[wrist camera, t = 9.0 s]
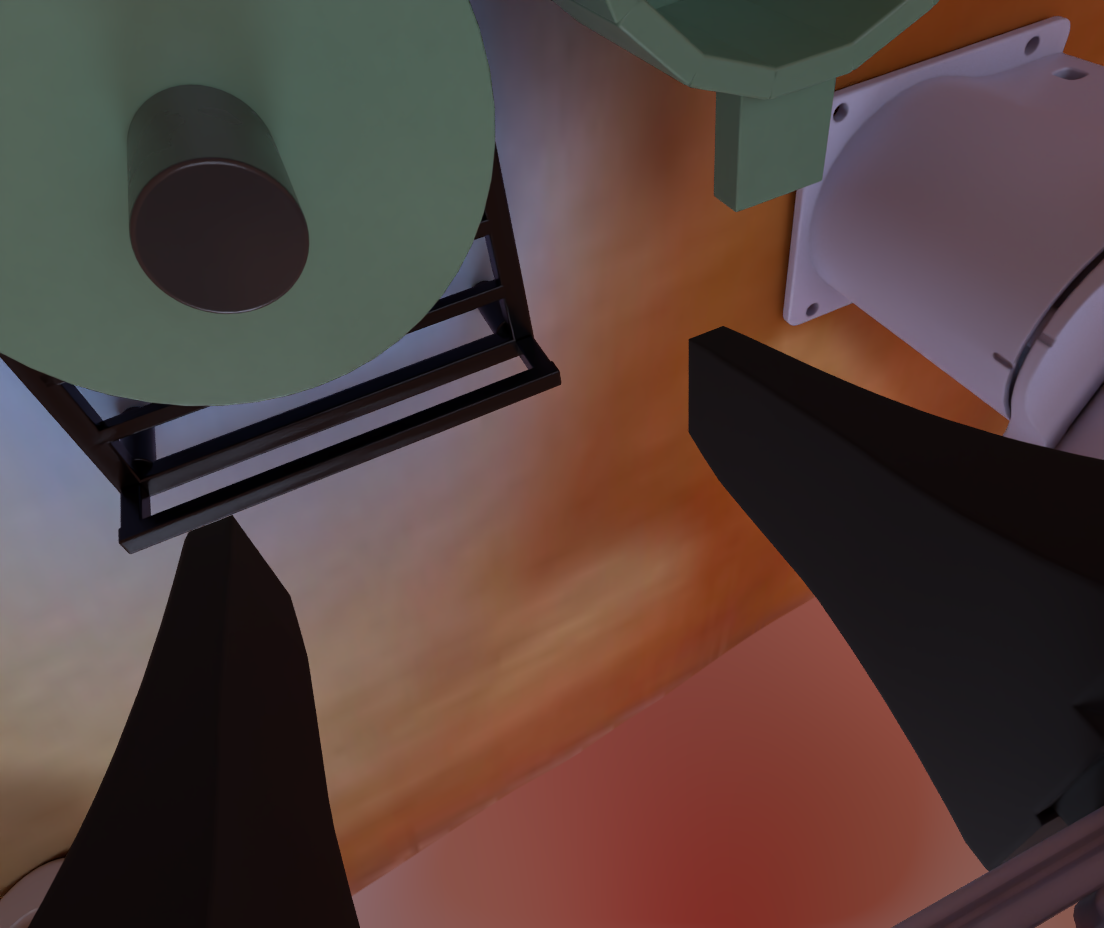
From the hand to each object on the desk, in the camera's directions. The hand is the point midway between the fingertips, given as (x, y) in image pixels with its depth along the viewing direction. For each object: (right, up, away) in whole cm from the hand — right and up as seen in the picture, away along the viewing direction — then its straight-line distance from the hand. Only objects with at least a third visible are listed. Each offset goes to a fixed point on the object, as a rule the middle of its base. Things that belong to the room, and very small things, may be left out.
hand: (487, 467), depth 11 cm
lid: (-5, +6, +2) cm, 8 cm away
